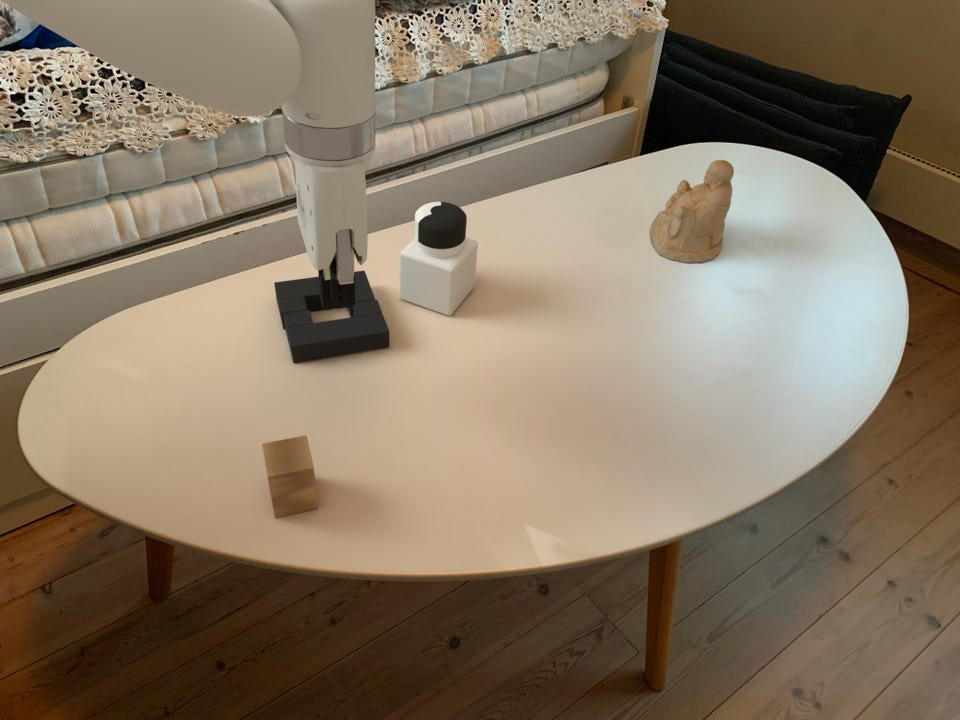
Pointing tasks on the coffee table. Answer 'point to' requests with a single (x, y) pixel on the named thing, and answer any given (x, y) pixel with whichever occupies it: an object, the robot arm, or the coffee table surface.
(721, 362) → the coffee table surface
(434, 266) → the medicine bottle
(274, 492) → the key
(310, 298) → the pad back
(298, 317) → the pad front
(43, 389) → the coffee table surface
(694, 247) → the statue
